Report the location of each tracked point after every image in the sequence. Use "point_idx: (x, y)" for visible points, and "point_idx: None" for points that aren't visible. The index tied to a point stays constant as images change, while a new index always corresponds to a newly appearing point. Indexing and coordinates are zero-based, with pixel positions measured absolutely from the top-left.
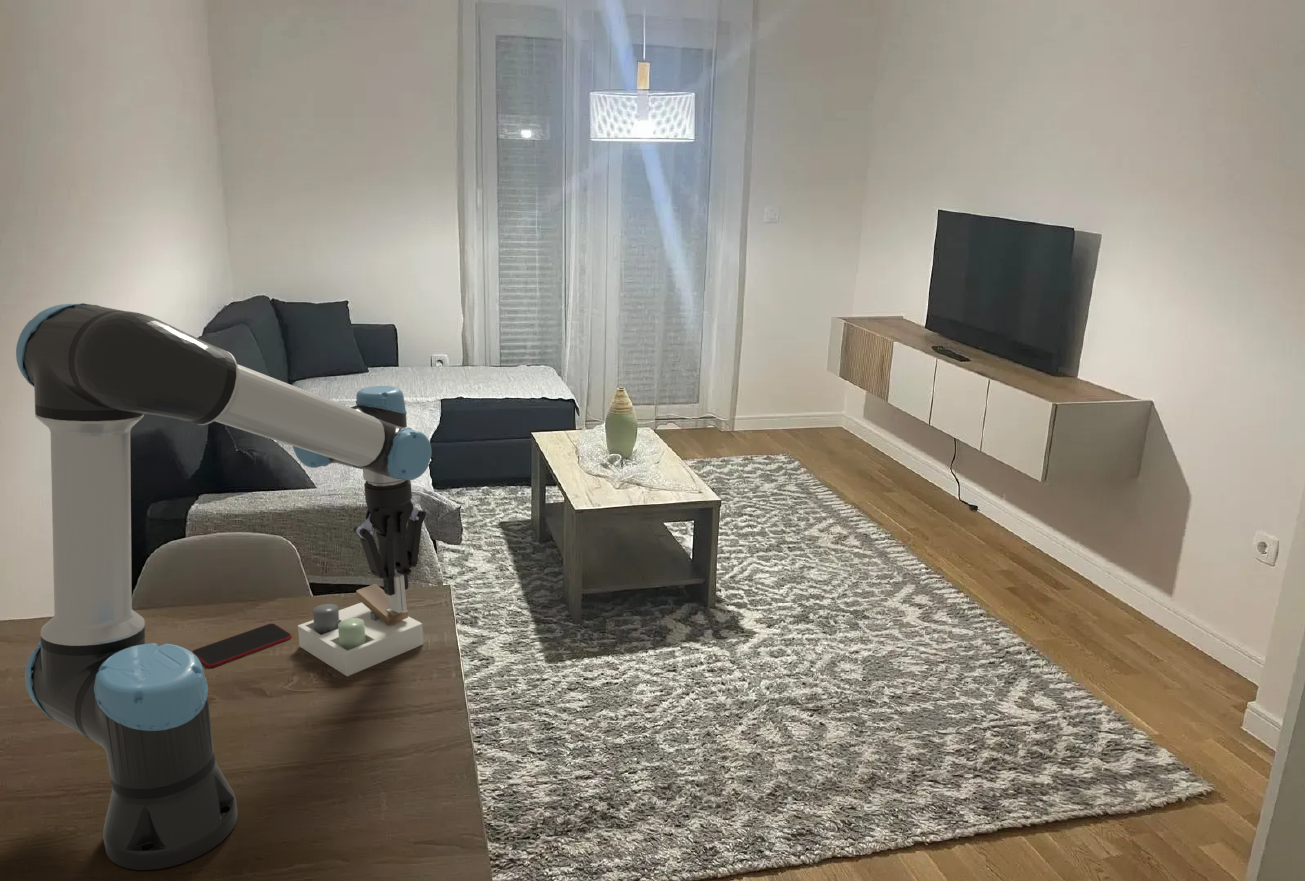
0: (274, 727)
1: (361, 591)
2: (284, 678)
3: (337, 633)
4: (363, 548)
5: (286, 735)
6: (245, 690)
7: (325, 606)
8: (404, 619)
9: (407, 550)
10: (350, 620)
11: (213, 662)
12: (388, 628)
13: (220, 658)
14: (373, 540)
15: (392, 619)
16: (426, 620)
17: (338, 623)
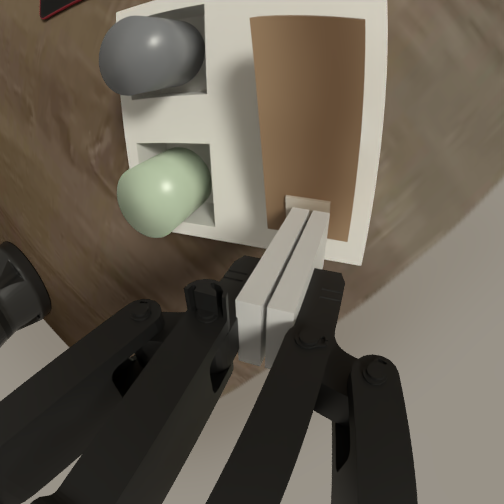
0: (69, 232)
1: (268, 34)
2: (94, 123)
3: (161, 121)
4: (2, 401)
5: (77, 256)
6: (54, 119)
7: (136, 35)
8: None
9: (344, 464)
10: (150, 185)
11: (44, 13)
12: None
13: (52, 4)
14: (25, 493)
15: None
16: (468, 145)
17: (179, 80)
